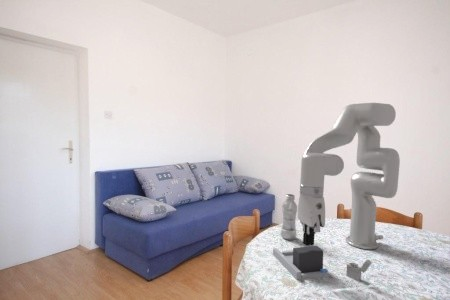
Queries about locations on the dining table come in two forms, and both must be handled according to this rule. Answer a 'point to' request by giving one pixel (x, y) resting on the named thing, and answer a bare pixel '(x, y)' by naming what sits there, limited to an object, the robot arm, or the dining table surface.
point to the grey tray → (287, 262)
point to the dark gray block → (308, 258)
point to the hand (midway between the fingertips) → (308, 244)
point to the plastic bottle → (289, 218)
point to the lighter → (357, 270)
